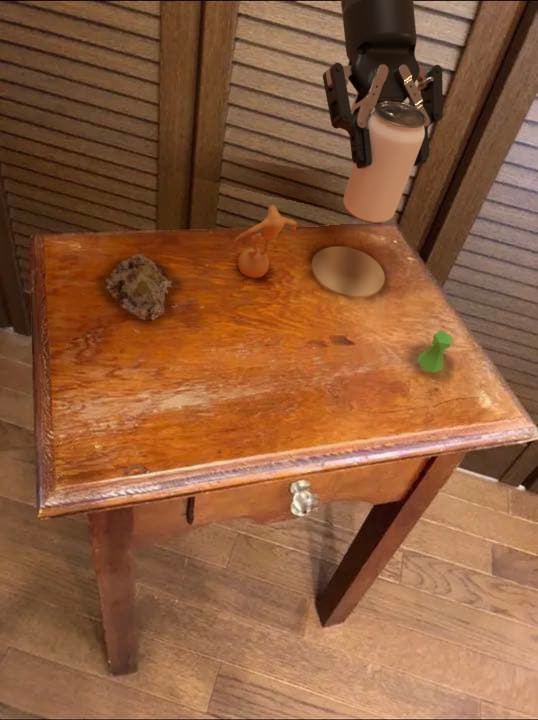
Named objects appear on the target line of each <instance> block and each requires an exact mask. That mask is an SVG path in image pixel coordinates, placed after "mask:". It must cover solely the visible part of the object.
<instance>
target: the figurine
mask: <svg viewBox="0 0 538 720" xmlns="http://www.w3.org/2000/svg"><path fill="white" fill-rule="evenodd" d="M285 225H290V226H291V227H289V228H290V231H291V232H293V233H296V231H297V226H298V223H297V221H296V220H293V219H291V218H288V217H285V216H282V215H281V213H280V212H279V210H278V209H277V207H276V205H275V204H270V205H269V206H268V209H267V213H266V217H264V219H263V220H262V221H261V222H259V223H258V224H255V225H253V226H252V227H250V228H249V229H246V231H244V232H242V233H240V234H239V235H238V236H236V237H235V238H234V240H233V243H232V244H233V245H234V244H236V242H237V241H238V240H240V239H243V238H245V237H247V236H248V235H250V234H251V233H254V232H257V231H259V230H262V229H263V231H262V232H258V233H256V234H254V235H252V236H251V238H250V239H251V243H252V247H248V248H246V249H244V250H243V251H242V252H241V253H240V255H239V256H238V260H237V267H238V270H239V271H240V273H241V274H242V275H243V276H245V277H247V278H252V279H257V278H262V277H263V276H265V275H266V273H267V272H268V270H269V267H270V259H269V256H268V255H267V253H268V252H269V249H270V248H271V242H270V241H274V240H275V239H277V237H278V236H279V233H280V232H281V231H282V230H283V228H284V227H285ZM263 241H264V249H262V248H260V247H259V244H258V243H261V242H263Z"/></svg>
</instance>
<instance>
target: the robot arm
mask: <svg viewBox="0 0 538 720" xmlns="http://www.w3.org/2000/svg"><path fill="white" fill-rule="evenodd" d="M340 7H341V13H342V15H341V16H342V23H343V34H344V42H345V43H344V44H345V52H346V57H347V59H348V64H347V65H342V63H341V62H335V63H334V64H333V65H331V66H330V67H329V68H328V69H327V70H325V71H324V73H323V74H322V81H323V86H324V92H325V96H326V103H327V108H328V114H329V118H330V123H331V127H332V128H333V129H336V130H337V129H342V130H344V131H346V133H348V136H349V143H350V144H349V145H350V153H351V161H352V162H353V164H354V163H356V166H357V168H358V169H361V168H366V167H368V166H370V165H371V164H372V154H371V144H370V134H369V129H365V127H366V126H367V123H368V120H369V118H370V115H371V114H372V113H373V111H374V110H375V106H376V105H377V104H378V103H379V102H386V101H393V102H402V103H406V104H408V105H411V106H413V107H415V108H417V109H418V110H420V111H421V112H422V113H423V114H424V115H425V117H426V123H425V124H424V130H425V135H424V139H423V142H422V145H421V147H420V150H419V153H418V155H417V158H416V160H415V163H414V166H413V167H419V166H422V165H424V164H426V163H427V160H428V158H429V156H430V152H431V151H430V144H429V143H430V141H429V127H430V125H433V124H434V123H437V122H439V121H441V120H442V119H443V117H444V106H443V105H444V102H443V99H444V98H443V97H444V96H443V94H444V93H443V91H444V89H443V68H442V66H441V65H439V64H435V65H433V66H431V67H425V66H420V64H419V62H418V60H417V58H416V54H415V52H416V46H417V41H418V39H417V29H416V17H415V7H414V0H340ZM349 82H350V84H351V85H352V87H353V88H354V89H355V91H356V94H355V97H354V101H353V103H352V106H351V103H350V98H349V92H348V87H347V86H348V85H349ZM416 82H417V84H416ZM419 90H420V91H419ZM407 99H408V102H405V101H406V100H407Z"/></svg>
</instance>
